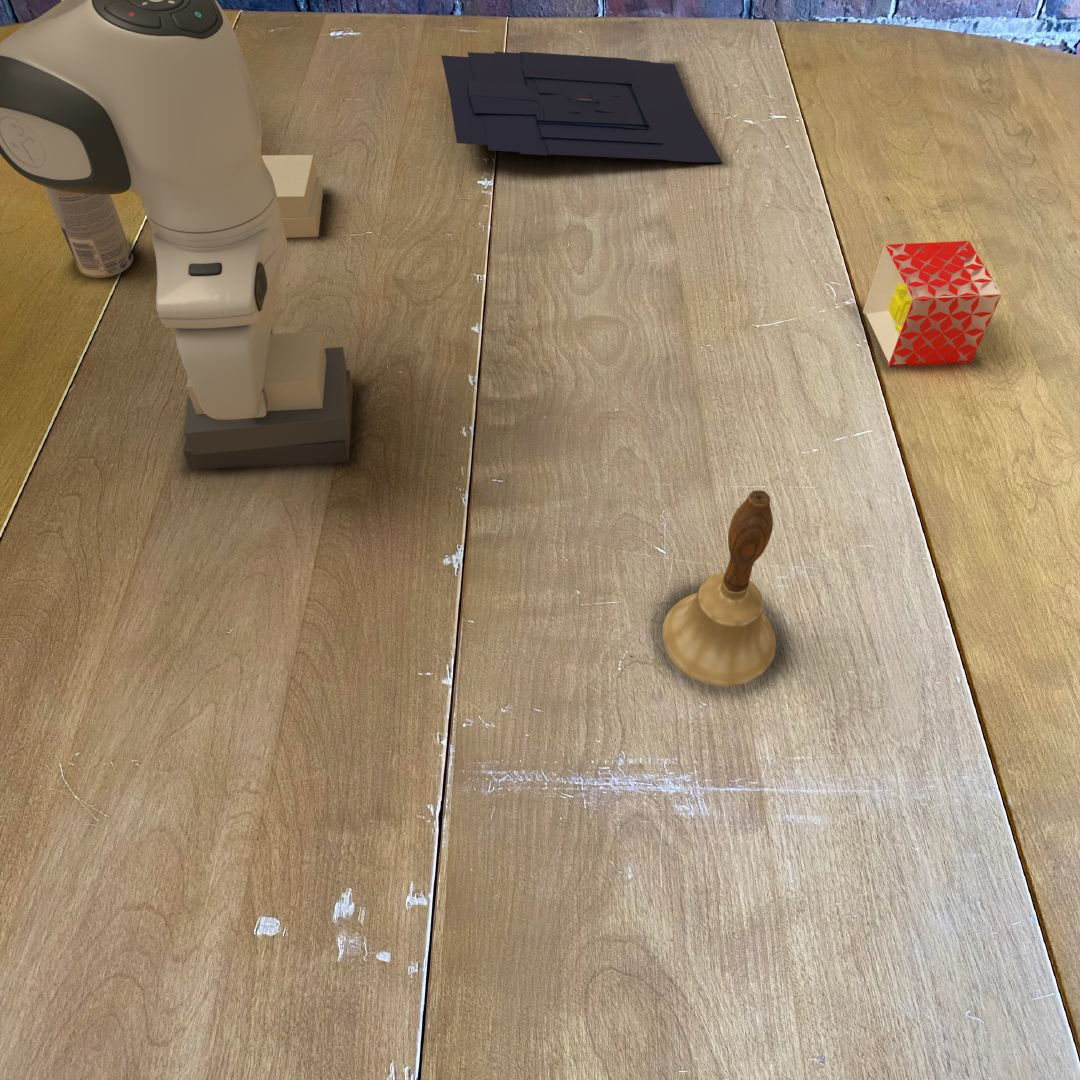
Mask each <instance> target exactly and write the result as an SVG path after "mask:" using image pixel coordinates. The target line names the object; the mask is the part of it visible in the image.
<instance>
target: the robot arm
mask: <svg viewBox="0 0 1080 1080" xmlns="http://www.w3.org/2000/svg"><path fill="white" fill-rule="evenodd" d="M262 138H263V127H262V121H261V117H260V112H259V108H258V104H257V100H256V95H255V92H254V88H253V84H252V80H251V77H250V73H249V69H248V66H247V62H246V60H245V56H244V54H243V50H242V47H241V45H240V42H239V40H238V37H237V35H236V32H235V30H234V28H233V27H232V24H231V22H230V20H229V18H228V16H227V15H226V13H225V12H224V10H223V8H222V7H221V5H220V4H219V2H218V1H217V0H63V1H60V2H59V3H57V4H56V5H55V6H52V8H50V9H48V10H47V11H46V12H45V13H43V14H41V15H40V16H39V17H38V18H35V19H33V20H30V21H29V22H27V23H26V24H25V25H22V27H20V28H18V30H16V31H14V32H13V33H12V34H10V35H9V36H7V37H6V38H5V39H3V40H1V42H0V155H1V157H2V158H3V160H5V161H6V163H7V164H8V165H9V166H10V167H11V168H12V169H13V170H15V171H16V172H17V173H18V174H19V175H21V176H23V177H24V178H26V179H27V180H30V181H31V182H33V183H35V184H38V185H40V186H43V187H44V186H45V187H48V188H52V189H56V190H61V191H67V192H75V193H85V194H110V195H119V194H123V193H126V192H128V191H130V192H133V193H135V194H136V195H138V196H139V198H140V199H141V202H142V206H143V210H144V213H145V216H146V219H147V221H148V222H147V223H148V224H149V227H150V230H151V233H152V235H151V243H152V247H153V250H154V255H155V261H156V263H155V264H156V268H155V269H156V271H155V275H156V277H155V278H156V279H155V280H156V283H155V308H156V311H157V315H158V318H159V320H160V322H161V323H160V324H161V325H162V326H163V328H166V329H174V336H175V342H176V347H177V351H178V354H179V357H180V361H181V362H182V366H183V368H184V371H185V373H186V376H187V379H188V378H189V381H190V383H191V386H192V388H193V390H194V393H195V395H196V397H197V399H198V402H199V404H200V406H201V408H202V410H203V411H204V413H205V414H206V415H207V416H209V417H211V418H213V419H216V420H237V419H249V418H261V417H265V416H266V413H267V406H268V400H267V397H266V393H265V389H262V388H263V381H264V375H265V368H266V361H267V354H268V347H269V340H270V334H276V333H275V330H274V312H275V304H276V297H277V291H278V284H279V279H280V278H279V277H280V270H281V265H282V263H283V262H284V260H285V258H286V256H287V252H288V247H289V246H288V240H287V239H288V238H286V235H285V230H284V226H283V221H282V216H281V212H280V208H279V203H278V199H277V194H276V189H275V185H274V181H273V178H272V176H271V174H270V172H269V170H268V168H267V167H266V165H265V163H264V160H263V158H262V155H263V154H262V153H263V152H262V140H263V139H262Z"/></svg>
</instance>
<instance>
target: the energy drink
mask: <svg viewBox="0 0 1080 1080" xmlns="http://www.w3.org/2000/svg"><path fill="white" fill-rule="evenodd" d="M43 188H44V191H45V193H46V196H47V198H48V200H49V202H50V205H51V207H52V210H53V212H54V215H55V217H56V219H57V221H58V224H59V226H60V228H61V231H62V233H63V236H64V239H65V241H66V243H67V246H68V248H69V250H70V252H71V255H72V257H73V260H74V262H75V264H76V267H77V269H78V271H79V272H80V273H81V274H82V275H83V276H86V277H89V278H94V279H104V278H110V277H113V276H116V275H120V274H121V273H123V272H125V270H127V269H128V268H130V266H131V265H132V263H133V260H134V255H133V252H132V250H131V247H130V244H129V241H128V239H127V237H126V233H125V230H124V227H123V225H122V222H121V220H120V217H119V214H118V211H117V209H116V206H115V202H114V201H113V198H112V194H85V193H75V192H67V191H61V190H56V189H52V188H48V187H45V186H43Z"/></svg>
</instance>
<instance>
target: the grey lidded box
mask: <svg viewBox="0 0 1080 1080" xmlns="http://www.w3.org/2000/svg"><path fill="white" fill-rule="evenodd" d="M324 349H325V354H326V359H327V361H326V372H325V384H324V396H323V407H322V409H302V410H281V411H267V413H266V416H265V417H261V418H249V419H237V420H216V419H213V418H211V417H209V416H207V415H206V414H196V412H195V409H194V406H193V403H192V401H191V398H190V395H189V392H188V393H187V403H186V411H185V412H186V413H185V422H184V431H183V434H184V437H185V441H184V444H183V449H182V450H183V454H184V457H185V461H186V462H187V465H188V468H189V470H191V471H194V470H212V469H231V468H251V467H272V466H292V465H308V464H309V465H312V464H329V463H331V464H333V463H348V462H350V446H351V430H352V427H351V426H352V414H353V412H352V411H353V398H354V397H353V393H354V387H353V382H352V375H351V371H350V370H349V369H348V367H347V362H346V361H347V360H346V355H345V351H344V347H343V346H336V347H335V346H334V347H326V348H325V347H324Z"/></svg>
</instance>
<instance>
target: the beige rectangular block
mask: <svg viewBox="0 0 1080 1080" xmlns="http://www.w3.org/2000/svg"><path fill="white" fill-rule="evenodd" d="M324 348H325V345H324V341H323V335H322V332H321V331H307V332H306V331H305V332H283V333H282V332H279V333H275V334H270V340H269V347H268V354H267V361H266V368H265V375H264V381H263V388H262V389H265V393H266V397H267V400H268V406H267V411H281V410H302V409H322V407H323V396H324V384H325V372H326V361H327V359H326V354H325V349H324ZM186 389H187V392H188V393H189V395H190V398H191V401H192V403H193V406H194V409H195V412H196V414H205V413H204V411H203V410H202V408H201V406H200V404H199V402H198V399H197V397H196V395H195V393H194V390H193V388H192V386H191V383H190V381H189V378H188V377H187V383H186Z"/></svg>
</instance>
